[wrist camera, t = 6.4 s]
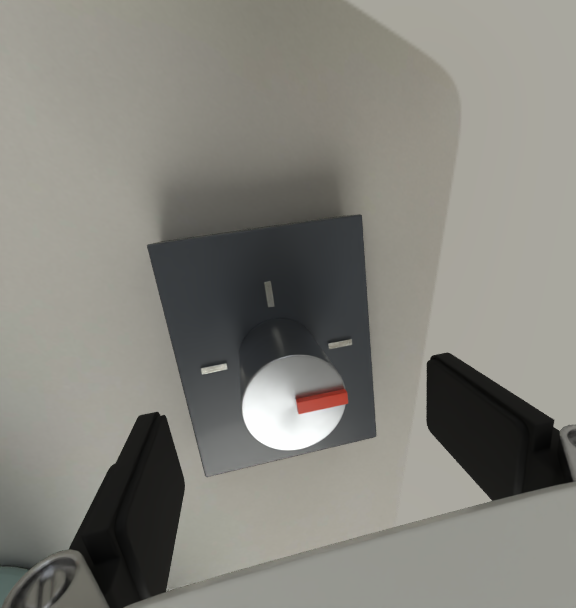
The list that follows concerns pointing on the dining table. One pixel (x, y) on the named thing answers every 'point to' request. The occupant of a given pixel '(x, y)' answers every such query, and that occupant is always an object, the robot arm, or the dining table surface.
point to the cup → (9, 580)
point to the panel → (257, 309)
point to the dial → (288, 386)
